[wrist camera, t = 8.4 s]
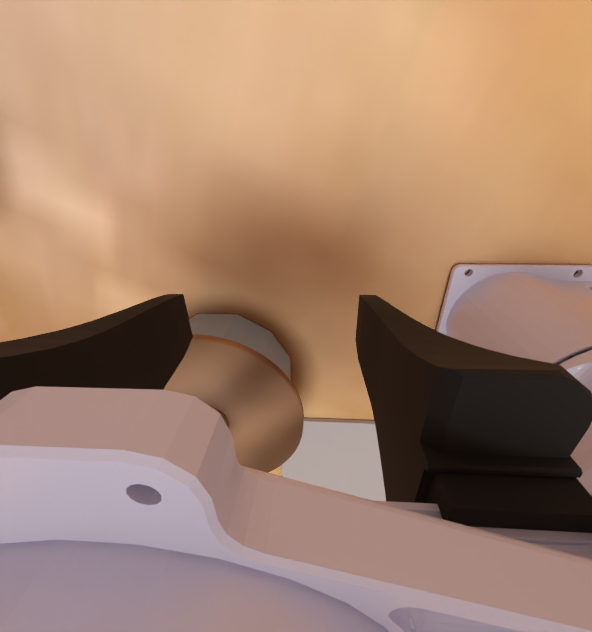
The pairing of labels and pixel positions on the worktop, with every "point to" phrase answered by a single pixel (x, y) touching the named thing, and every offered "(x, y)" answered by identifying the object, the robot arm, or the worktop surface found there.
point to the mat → (339, 457)
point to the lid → (244, 398)
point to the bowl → (242, 335)
